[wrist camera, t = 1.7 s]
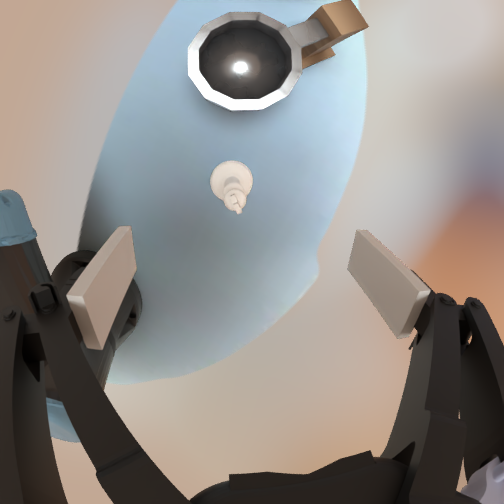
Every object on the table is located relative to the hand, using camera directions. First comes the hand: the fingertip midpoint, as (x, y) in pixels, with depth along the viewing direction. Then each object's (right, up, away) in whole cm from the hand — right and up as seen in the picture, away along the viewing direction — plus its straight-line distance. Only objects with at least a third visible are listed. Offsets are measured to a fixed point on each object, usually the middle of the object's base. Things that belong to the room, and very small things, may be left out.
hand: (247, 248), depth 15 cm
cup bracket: (+1, +17, +4) cm, 18 cm away
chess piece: (-2, +8, +16) cm, 18 cm away
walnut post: (+6, +23, +9) cm, 26 cm away
